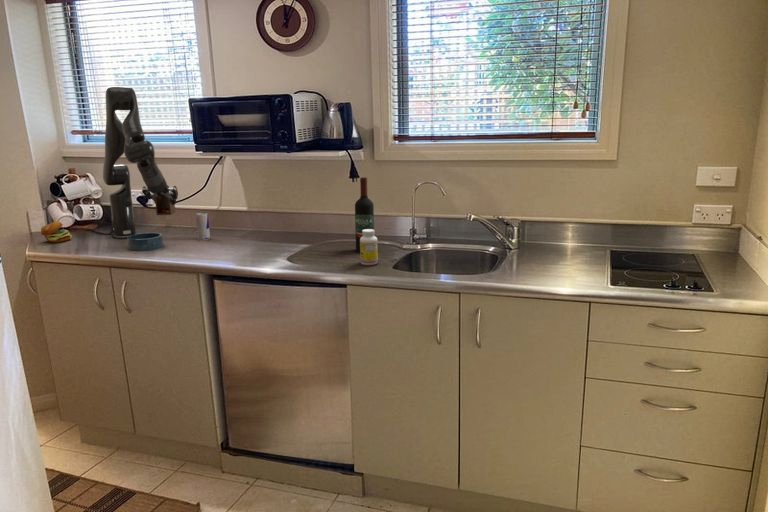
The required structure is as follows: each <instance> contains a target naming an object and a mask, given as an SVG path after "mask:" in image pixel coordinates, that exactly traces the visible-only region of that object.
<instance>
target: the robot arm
mask: <svg viewBox="0 0 768 512" xmlns="http://www.w3.org/2000/svg"><path fill="white" fill-rule="evenodd" d="M139 110H140V109H139V104H138V98H137V94H136V92H135V89H134V88H133V87H129V86H117V85H116V86H112V85H111V86H108V87H106V90H105V115H106V116H105V131H104V159H103V166H102V180H103V182H104V184H105V185H107V186H121V187H120V188H119V189H117V190H116V191H113V192H111V193H110V194H109V202H110V212H111V217H110V218H111V226H110V232H108V233H107V232H106V233H105V232H101V231H97V230H96V229H93V228H87V227H72V228H71V230H83V231H84V230H85V231H86V230H87V231H92V232H94V233H96V234H100V235H103V236H105V235H106V236H107V235H112V234H113V237H114V238H116V239H127V237H128V236H130V235H134V234H137V230H136V222H135V215H134V214H135V213H134V206H133V205H134V204H133V199H132V187H131V173H130V168H129V166H128V165H127V164H125V163H124V164H122V163H120V164H116V163H117V161H118V160H119V159H120V158H121V157H122V156H123V155H124V156H125V159H126V160H127V161H128V162H129V163H132V164H136V168H137V170H138V172H139V174H140V175H141V178H142V180H143V182H144V184H145V186H144V185H143V186H142V190H141V192H142V194H143V196H144V197H145V198H146V199H147V200H153V202H154V203H155V198H156V196H165V197H166V198H170V199H171V202H172V204H173V205H175V206H176V204H177V200H178V196H179V192H178V187H177V185H174V186H172V187H170V186H169V185H168V183H167V181H166V179H165V177H164V175H163V172H162V171H161V170H160V168H159V166H158V163H157V162H156V157H155V155H156V154H155V147H154V145H153V143H152V142H151V141H150V140H148V139H146V136H145V133H144V130H143V127H142V124H141V118H140V117H141V116H140V111H139ZM116 111H129V112H128V114H127V115H126V116H125V118H124V119H123V120H122V121H121V120H120V118H119V117H118V115H117V113H116ZM170 195H171V196H170Z"/></svg>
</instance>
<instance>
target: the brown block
mask: <svg viewBox="0 0 768 512" xmlns="http://www.w3.org/2000/svg"><path fill="white" fill-rule="evenodd" d="M170 196H171V195H170ZM154 204H155V211H156V216H171V215H174V214H175V213H176V204H175V205H173V204H172V202H171V199H170V198H166V197H165V196H156V198H155V202H154ZM163 209H166V210H167V211H170V212H161V210H163Z"/></svg>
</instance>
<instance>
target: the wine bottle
mask: <svg viewBox="0 0 768 512" xmlns="http://www.w3.org/2000/svg"><path fill="white" fill-rule="evenodd" d="M359 183H360V185H359V187H360V197H359V198H358V199H357V200H356V201H355V203H354V225H355V226H354V227H355V230H354V231H355V252H357V253H360V238H361V237H363V234H362V230H365V229H373V230H375V214H374V213H375V212H374V211H375V210H374V209H375V208H374V206H375V205H374V202H373V201H372V200H371V199H370V198H369V196H368V177H366V176H364V177H360V178H359Z"/></svg>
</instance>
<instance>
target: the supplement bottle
mask: <svg viewBox="0 0 768 512" xmlns="http://www.w3.org/2000/svg"><path fill="white" fill-rule="evenodd" d="M375 233H376V231H375V229H374V230H373V229H365V230H362V234H363V237H361V238H360V252H359V257H360V258H359V261H360V262H359V263H360V264H361V265H363V266H376V265H377V264H378V262H379V253H378V251H379V250H378V249H379V248H378V246H379V245H378V244H379V243H378V237H377V236H375V235H376V234H375Z"/></svg>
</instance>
